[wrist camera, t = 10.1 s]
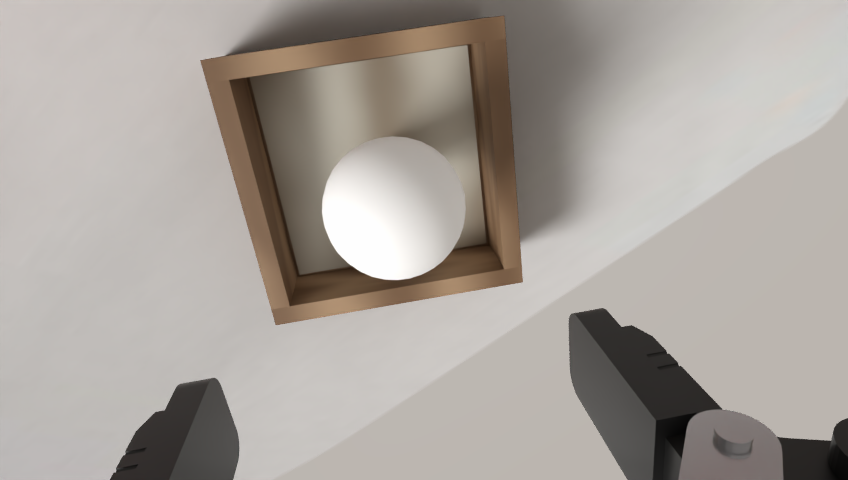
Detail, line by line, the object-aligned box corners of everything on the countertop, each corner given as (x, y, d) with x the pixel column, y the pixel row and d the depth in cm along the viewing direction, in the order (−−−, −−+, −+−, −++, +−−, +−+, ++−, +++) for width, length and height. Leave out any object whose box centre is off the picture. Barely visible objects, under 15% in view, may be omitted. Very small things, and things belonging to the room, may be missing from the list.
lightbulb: (400, 87, 28) (421, 119, 18) (459, 177, 30) (507, 250, 20) (309, 151, 29) (281, 217, 19) (374, 234, 31) (379, 332, 21)
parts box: (286, 288, 33) (275, 325, 29) (224, 55, 28) (200, 60, 23) (502, 251, 34) (522, 282, 30) (483, 17, 28) (504, 15, 24)
